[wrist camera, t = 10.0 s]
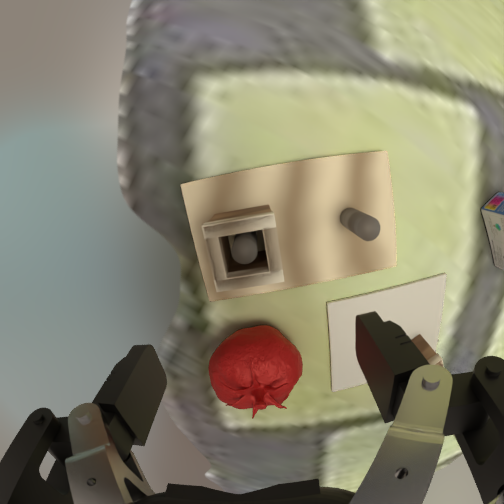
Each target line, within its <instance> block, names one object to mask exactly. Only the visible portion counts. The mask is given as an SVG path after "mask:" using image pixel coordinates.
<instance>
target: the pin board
mask: <svg viewBox="0 0 504 504" xmlns="http://www.w3.org/2000/svg"><path fill="white" fill-rule="evenodd" d="M181 189H182V193H183V198H184V202H185V206H186V211H187V215H188V219H189V224H190V228H191V232H192V236H193V240H194V244H195V248H196V252H197V256H198V260H199V264H200V268H201V271H202V275H203V279H204V283H205V286H206V290H207V294H208V297H209V301H210V302H212V301H218V300H225V299H231V298H237V297H243V296H250V295H255V294H261V293H267V292H273V291H278V290H284V289H289V288H295V287H300V286H305V285H311V284H316V283H321V282H326V281H331V280H336V279H341V278H346V277H350V276H355V275H360V274H364V273H369V272H374V271H378V270H382V269H387V268H391V267H396V266H397V249H396V226H395V212H394V200H393V190H392V181H391V173H390V166H389V159H388V152H387V151H378V152H367V153H356V154H347V155H338V156H330V157H323V158H315V159H308V160H301V161H295V162H288V163H282V164H276V165H270V166H265V167H259V168H254V169H248V170H243V171H238V172H233V173H228V174H224V175H219V176H214V177H210V178H205V179H201V180H197V181H192V182H188V183H184V184H181ZM263 205H269V206H270V209H271V211H273V212H274V216H275V222H276V229H277V235H278V241H279V248H280V255H281V261H282V268H283V275H284V282H280V283H274V284H268V285H261V286H255V287H248V288H242V289H235V290H228V291H222V292H217V291H216V287H215V283H214V279H213V274H212V270H211V266H210V262H209V257H208V253H207V248H206V244H205V239H204V235H203V230H202V225H203V224H204V223H207V222H208V221H209V220H210V219H211V218H212V217H213V216H214V214H217V213H223V212H228V211H234V210H240V209H245V208H251V207H257V206H263ZM228 238H229V243H230V248H231V254H232V257H233V259H234V260H235V261H236V262H238V263H240V264H249V263H251V262H252V261H254V260H255V258H256V256H257V251H263V250H266V249H265V243H264V237H263V231H262V230H257V231H251V232H245V233H239V234H233V235H228Z"/></svg>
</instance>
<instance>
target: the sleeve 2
mask: <svg viewBox="0 0 504 504" xmlns="http://www.w3.org/2000/svg"><path fill="white" fill-rule="evenodd" d="M411 341H412V342H413V343H414V344H415V345H416V347H417V348H418V349H419V350H420V352H421V353H422V354H423V356H424V357H425V358H426V360H427V361H428V362H429V364H430V365H439V366H442V367H443V360H442V358H441V357H440V356H439V354H438V353H437V354H436V352H435V351H434V350H433V349H432V348H431V346H430V345H429V344H428V343H427V342H426V340H425V339H424V338H423V337H422V336H421V335H420V334H419V335H417V336H416V337H414V338H413V339H411Z"/></svg>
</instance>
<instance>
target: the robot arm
mask: <svg viewBox="0 0 504 504" xmlns="http://www.w3.org/2000/svg"><path fill="white" fill-rule="evenodd" d="M355 350H356V357H357V361H358V363H359V366H360V368H361V370H362V372H363V374H364V376H365V379H366V381H367V383H368V385H369V388H370V390H371V392H372V394H373V397H374V399H375V401H376V403H377V406H378V408H379V410H380V413H381V415H382V417H383V420H384V422H385V423H388V422H391V421H394V422H393V425H392V426H390V428H389V430H388V432H387V434H386V436H385V438H384V441H383V443H382V445H381V447H380V449H379V451H378V453H377V455H376V457H375V459H374V461H373V463H372V465H371V467H370V469H369V471H368V472H367V474H366V476H365V478H364V480H363V481H362V483H361V485H360V487H359V488H358V490H357V492H356V493H354V492H351V491H348V490H344V489H339V488H332V487H320V486H319V480H318V479H313V480H307V481H300V482H293V483H285V484H278V485H275V486H271V487H268V488H264V489H260V490H257V491H253V492H249V493H245V494H232V493H228V492H223V491H219V490H214V489H210V488H207V487H203V486H191V485H179V484H169V483H168V485H167V490H166V492H163V493H157V494H155V493H154V492H153V490H152V489H151V487H150V486H149V484H148V482H147V480H146V478H145V476H144V474H143V472H142V470H141V468H140V466H139V464H138V462H137V459H136V457H135V455H134V453H133V452H132V451H131V448H132V445H139V446H145V443H146V440H147V437H148V434H149V431H150V429H151V426H152V423H153V421H154V418H155V415H156V413H157V410H158V407H159V405H160V402H161V399H162V397H163V394H164V392H165V389H166V385H167V379H166V374H165V372H164V369H163V367H162V365H161V363H160V361H159V358H158V356H157V354H156V351H155V349H154V347H153V346H152V345H134V346H133V347H132V348H131V350H130V351H129V353H128V354H127V356H126V357H124V358H123V359H122V360H121V361H120V362H118V363H117V364H116V365H115V367H114V368H113V370H112V371H111V374H110V375H109V376H108V378H107V381H105V382H104V384H103V386H102V387H101V389H100V391H99V392H98V394H97V395H96V397H95V398H94V400H93V402H92V403H84V404H81V405H79V406H77V407H76V408H74V409H73V410H72V411H71V412H70V414H69V416H68V417H60V418H56V417H55V415H54V414H53V413H52V411H51V410H50V409H48V408H40V409H37V410H35V411H34V412H33V413H31V414H30V415H29V417H28V418H27V420H26V421H25V423H24V424H23V426H22V428H21V429H20V431H19V432H18V434H17V435H16V437H15V439H14V440H13V442H12V443H11V445H10V447H9V448H8V450H7V452H6V453H5V455H4V457H3V458H2V460H1V462H0V504H422V503H423V501H424V498H425V496H426V493H427V491H428V488H429V486H430V483H431V480H432V478H433V475H434V472H435V469H436V466H437V463H438V459H439V456H440V453H441V449H442V446H443V442H444V436H448V435H454V437H455V439H456V440H457V442H458V444H459V446H460V448H461V450H462V452H463V454H464V457H465V459H466V461H467V463H468V466H469V468H470V470H471V473H472V475H473V478H474V480H475V483H476V485H477V488H478V490H479V493H480V495H481V498H482V501H483V503H484V504H504V360H503V359H502V358H499V357H496V356H487V357H484V358H482V359H480V360H479V361H478V362H477V363H476V365H475V368H474V371H473V372H467V373H461V374H451V373H450V372H449V371H448V370H447V369H445V368H444V367H442V366H439V365H430V364H429V362H428V361H427V360H426V358H425V357H424V356H423V354H422V353H421V352H420V350H419V349H418V348H417V347H416V345H415V344H414V343H413V342H412V341H411V339H410V338H409V336H408V335H406V333H405V331H404V330H403V329H402V327H401V326H400V325H398V324H396V323H394V322H392V321H390V320H389V321H385V322H384V321H383V320H382V319H381V317H380V316H379V315H378V313H377V312H376V311H373V312H369V313H364V314H360V315H357V316H356V319H355ZM47 451H49V453H50V454H51V455H52V456H53V457H54V458H55V459H56V461H55V463H54V465H53V467H52V469H51V471H50V474H49V476H48V478H47V480H46V481H45V480H44V479H43V478H42V477H41V476H40V473H39V467H40V465H41V463H42V460H43V458H44V457H45V455H46V453H47Z"/></svg>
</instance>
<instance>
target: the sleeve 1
mask: <svg viewBox="0 0 504 504" xmlns="http://www.w3.org/2000/svg"><path fill="white" fill-rule="evenodd" d="M202 230H203V235H204V239H205V244H206V248H207V253H208V257H209V262H210V266H211V270H212V274H213V279H214V283H215V287H216V291H217V292H222V291H228V290H235V289H242V288H248V287H255V286H261V285H268V284H274V283H280V282H284V275H283V268H282V261H281V255H280V248H279V241H278V235H277V229H276V222H275V216H274V212H273V211H271V209H270V206H269V205H263V206H257V207H251V208H245V209H240V210H234V211H228V212H223V213H217V214H214V216H213V217H212V218H211V219H210V220H209V221H208V222H207V223H204V224H203V225H202ZM257 230H262V231H263V237H264V243H265V249H266V250H263V251H257V256H256V258H255V260H254V261H252V262H251V263H249V264H240V263H238V262H236V261H235V260H234V259H233V257H232V254H231V248H230V243H229V238H228V235H233V234H239V233H245V232H251V231H257Z"/></svg>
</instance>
